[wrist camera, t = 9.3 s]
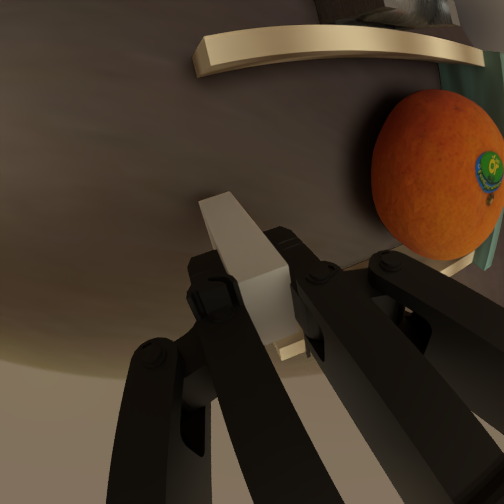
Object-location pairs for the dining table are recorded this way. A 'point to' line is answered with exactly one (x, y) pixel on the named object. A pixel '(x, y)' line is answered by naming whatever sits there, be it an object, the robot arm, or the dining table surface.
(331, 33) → the bay
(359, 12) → the dark grey bracket
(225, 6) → the dining table surface
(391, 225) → the fruit
